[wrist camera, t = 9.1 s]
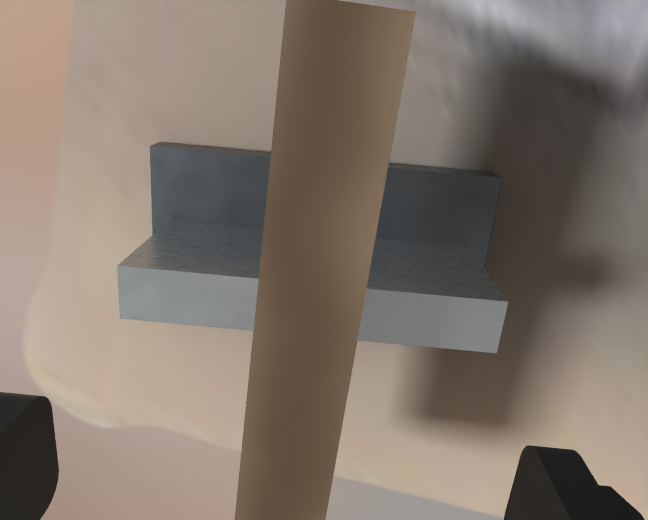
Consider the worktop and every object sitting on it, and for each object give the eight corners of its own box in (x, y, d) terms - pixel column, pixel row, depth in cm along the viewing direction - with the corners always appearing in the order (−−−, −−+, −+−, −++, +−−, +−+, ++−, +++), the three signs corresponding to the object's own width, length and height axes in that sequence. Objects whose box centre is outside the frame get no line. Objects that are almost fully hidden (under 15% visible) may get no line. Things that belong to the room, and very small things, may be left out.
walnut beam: (400, 24, 18) (415, 11, 14) (317, 514, 25) (312, 591, 22) (299, 9, 18) (287, -7, 14) (245, 504, 25) (228, 580, 22)
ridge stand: (494, 172, 28) (555, 213, 20) (461, 337, 31) (502, 429, 23) (159, 141, 28) (86, 170, 20) (163, 310, 31) (102, 392, 23)
